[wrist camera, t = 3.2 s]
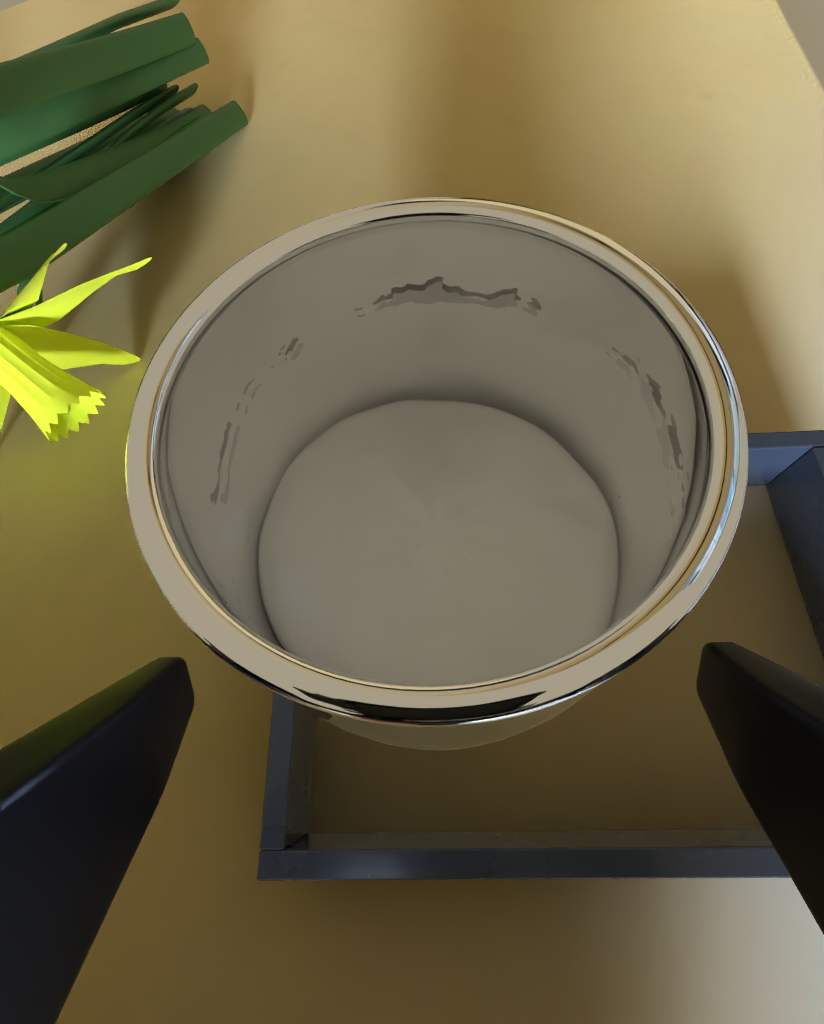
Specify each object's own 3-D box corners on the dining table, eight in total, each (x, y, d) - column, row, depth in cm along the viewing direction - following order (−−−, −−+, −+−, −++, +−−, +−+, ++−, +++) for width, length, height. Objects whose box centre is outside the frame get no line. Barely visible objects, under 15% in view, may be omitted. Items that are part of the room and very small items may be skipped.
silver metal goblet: (495, 783, 17) (691, 938, 3) (314, 694, 19) (-45, 560, 5) (559, 595, 20) (820, 255, 6) (394, 530, 21) (300, 140, 7)
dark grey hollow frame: (913, 854, 16) (1011, 876, 13) (287, 858, 17) (256, 881, 14) (777, 469, 21) (826, 429, 18) (313, 489, 22) (294, 453, 19)
